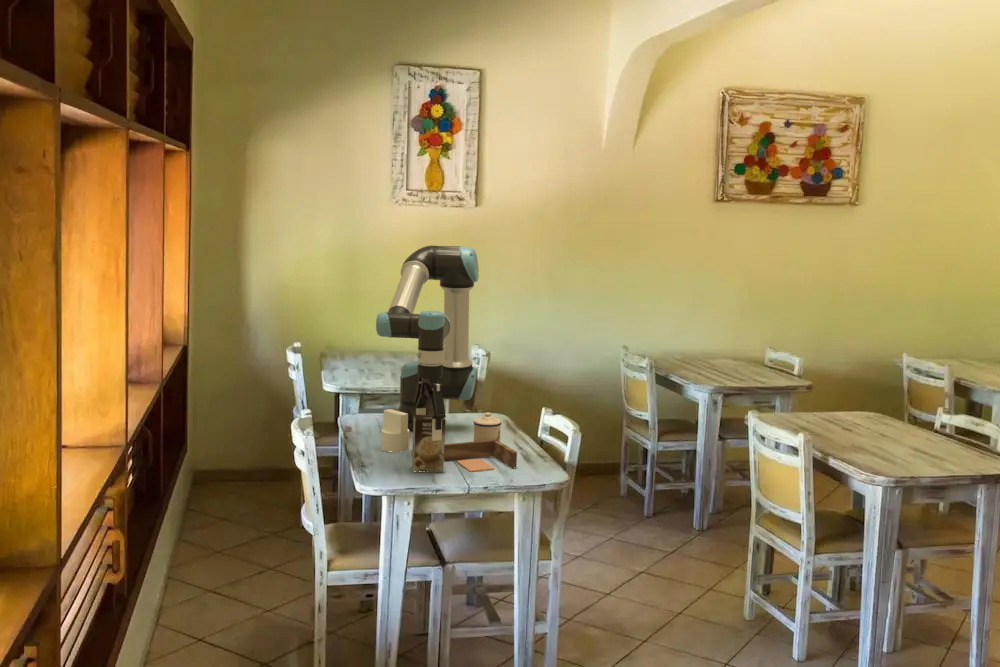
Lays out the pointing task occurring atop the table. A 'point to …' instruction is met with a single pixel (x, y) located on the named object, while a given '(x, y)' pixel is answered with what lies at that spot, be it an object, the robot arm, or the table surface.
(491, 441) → the walnut corner walls
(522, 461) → the table surface
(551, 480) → the table surface
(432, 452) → the coffee box
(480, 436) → the teacup with lid
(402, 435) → the base with upright slab
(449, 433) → the table surface
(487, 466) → the terracotta mat
